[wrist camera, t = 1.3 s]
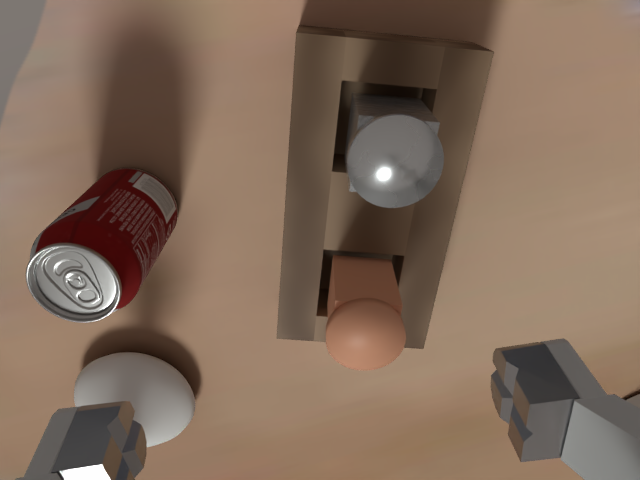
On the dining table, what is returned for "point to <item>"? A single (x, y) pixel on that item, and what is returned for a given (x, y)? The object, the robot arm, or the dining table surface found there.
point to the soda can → (102, 246)
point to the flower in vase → (140, 392)
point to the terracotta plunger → (364, 313)
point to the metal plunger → (392, 149)
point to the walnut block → (331, 177)
